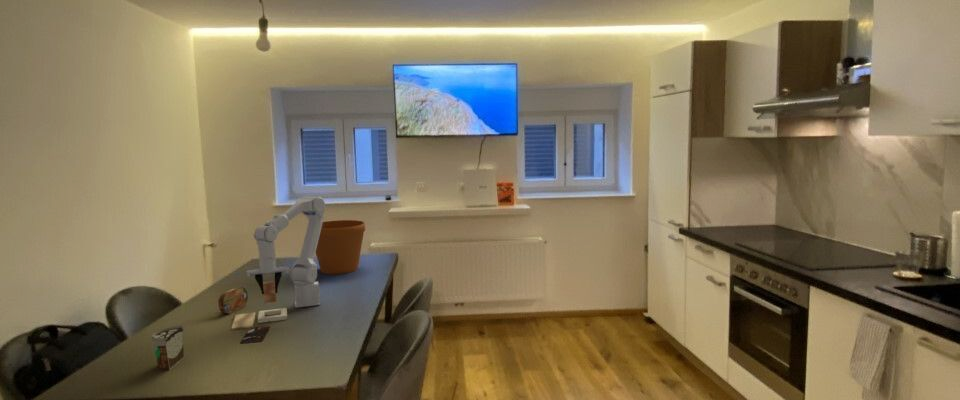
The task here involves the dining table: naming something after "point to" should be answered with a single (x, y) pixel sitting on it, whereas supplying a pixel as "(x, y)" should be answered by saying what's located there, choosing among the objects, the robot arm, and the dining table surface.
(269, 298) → the block
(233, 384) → the dining table surface
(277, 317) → the pocket plate
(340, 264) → the flowerpot
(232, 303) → the tin
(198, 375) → the dining table surface
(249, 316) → the oak board
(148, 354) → the dining table surface
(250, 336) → the smartphone
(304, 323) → the dining table surface
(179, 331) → the food container
